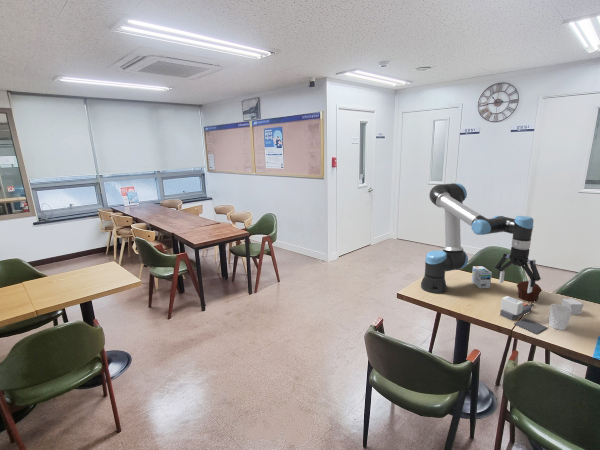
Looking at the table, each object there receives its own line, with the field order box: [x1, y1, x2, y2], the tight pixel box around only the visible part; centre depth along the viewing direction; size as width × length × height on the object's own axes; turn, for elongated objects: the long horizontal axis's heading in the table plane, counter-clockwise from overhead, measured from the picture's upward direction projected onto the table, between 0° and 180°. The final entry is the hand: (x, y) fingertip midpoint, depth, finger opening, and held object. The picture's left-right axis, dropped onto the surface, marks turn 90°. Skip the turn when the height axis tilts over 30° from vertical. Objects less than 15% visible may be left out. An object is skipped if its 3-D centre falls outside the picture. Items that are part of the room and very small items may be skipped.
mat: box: [513, 317, 548, 335], centre depth 155 cm, size 10×10×1 cm
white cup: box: [548, 303, 572, 331], centre depth 154 cm, size 8×8×10 cm
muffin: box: [516, 280, 543, 303], centre depth 182 cm, size 12×11×10 cm
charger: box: [499, 295, 525, 315], centre depth 164 cm, size 8×5×8 cm, turn 28°
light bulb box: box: [470, 265, 493, 289], centre depth 201 cm, size 11×7×11 cm, turn 179°
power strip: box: [499, 301, 535, 321], centre depth 169 cm, size 6×26×4 cm, turn 118°
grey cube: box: [560, 298, 584, 316], centre depth 167 cm, size 6×6×6 cm
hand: (514, 287), depth 162 cm, fingers open, 13 cm apart
